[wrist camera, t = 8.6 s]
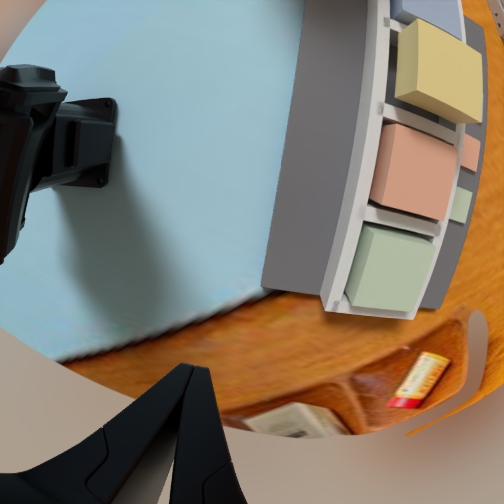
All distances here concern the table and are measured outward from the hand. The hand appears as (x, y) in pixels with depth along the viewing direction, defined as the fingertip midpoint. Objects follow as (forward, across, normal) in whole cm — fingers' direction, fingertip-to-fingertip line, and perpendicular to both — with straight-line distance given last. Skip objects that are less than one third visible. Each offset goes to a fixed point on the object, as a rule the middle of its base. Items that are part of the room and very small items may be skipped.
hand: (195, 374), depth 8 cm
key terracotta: (+10, -10, -7) cm, 16 cm away
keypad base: (+12, -10, -10) cm, 18 cm away
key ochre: (+9, -10, -13) cm, 18 cm away
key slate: (+11, -9, -19) cm, 24 cm away
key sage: (+11, -9, -1) cm, 14 cm away
